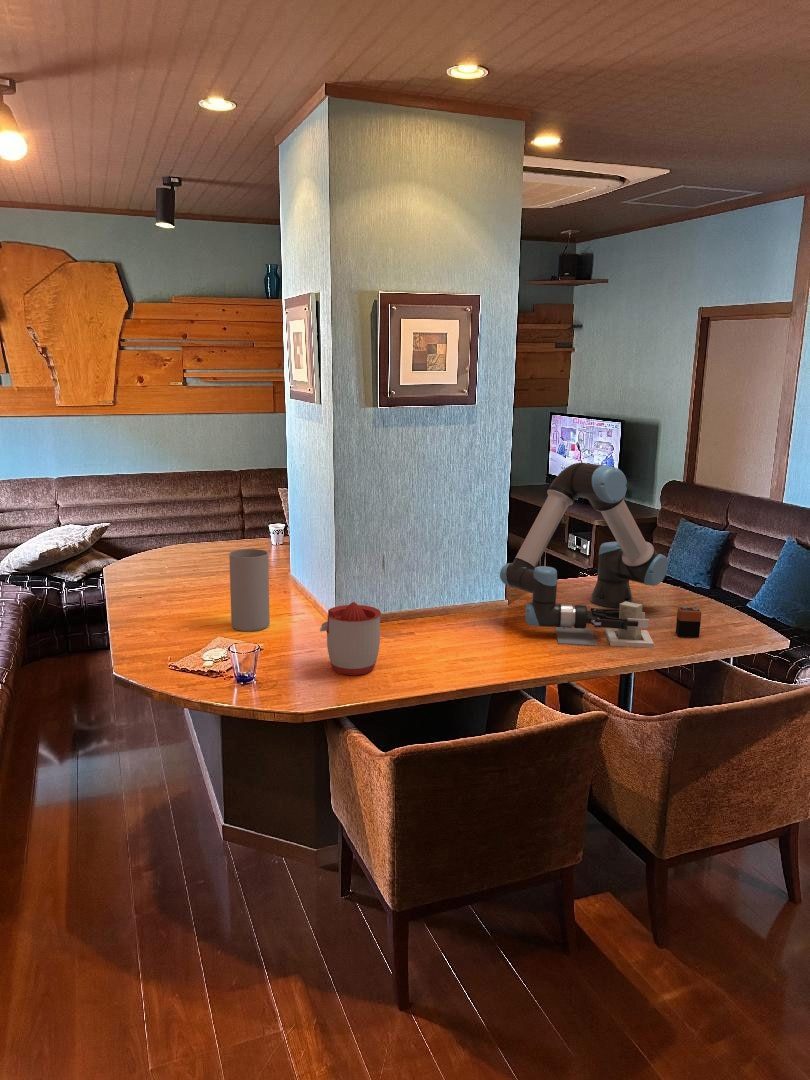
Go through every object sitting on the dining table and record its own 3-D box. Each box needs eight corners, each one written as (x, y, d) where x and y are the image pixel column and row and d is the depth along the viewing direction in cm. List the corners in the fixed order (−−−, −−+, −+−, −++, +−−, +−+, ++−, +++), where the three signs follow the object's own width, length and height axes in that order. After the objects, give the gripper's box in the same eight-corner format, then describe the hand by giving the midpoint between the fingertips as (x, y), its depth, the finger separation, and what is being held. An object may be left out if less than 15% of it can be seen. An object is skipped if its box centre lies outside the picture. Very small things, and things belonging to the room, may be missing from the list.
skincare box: (640, 640, 262) (643, 604, 260) (634, 644, 259) (637, 607, 256) (623, 636, 266) (625, 600, 264) (616, 639, 263) (619, 603, 260)
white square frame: (605, 632, 270) (605, 628, 269) (646, 634, 268) (646, 630, 268) (610, 645, 257) (610, 641, 256) (653, 648, 255) (654, 643, 255)
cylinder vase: (224, 629, 266) (221, 555, 261) (243, 618, 278) (241, 547, 273) (258, 634, 262) (256, 558, 257) (276, 623, 274) (275, 550, 269)
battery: (675, 633, 270) (677, 604, 268) (696, 634, 270) (698, 605, 268) (678, 637, 266) (680, 608, 264) (699, 638, 266) (702, 609, 263)
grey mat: (555, 628, 273) (555, 627, 273) (591, 630, 272) (591, 629, 271) (558, 644, 257) (558, 642, 257) (596, 646, 256) (596, 644, 256)
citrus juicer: (320, 659, 240) (320, 594, 236) (379, 659, 242) (380, 594, 237) (319, 679, 225) (318, 610, 221) (381, 678, 226) (382, 609, 222)
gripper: (570, 618, 273) (640, 622, 271) (575, 637, 254) (650, 641, 252) (571, 597, 272) (642, 600, 269) (576, 614, 253) (652, 618, 250)
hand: (646, 620), depth 260 cm, fingers closed on skincare box, 7 cm apart
